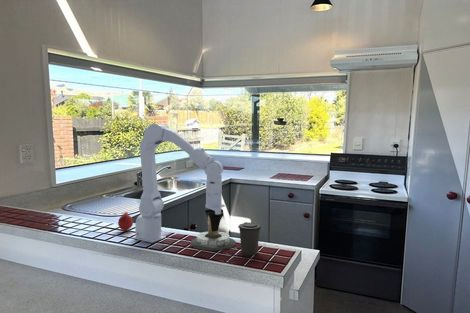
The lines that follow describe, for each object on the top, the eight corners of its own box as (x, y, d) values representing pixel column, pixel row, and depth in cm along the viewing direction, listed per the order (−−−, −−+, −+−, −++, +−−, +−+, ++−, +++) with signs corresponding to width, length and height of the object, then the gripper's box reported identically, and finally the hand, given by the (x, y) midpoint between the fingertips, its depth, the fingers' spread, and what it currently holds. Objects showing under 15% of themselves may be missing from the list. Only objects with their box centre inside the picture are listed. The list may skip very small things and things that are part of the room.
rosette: (180, 245, 121) (180, 237, 121) (206, 234, 136) (206, 227, 136) (220, 253, 113) (221, 245, 113) (243, 240, 128) (244, 233, 128)
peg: (205, 234, 123) (205, 216, 123) (211, 232, 127) (211, 214, 126) (215, 236, 121) (215, 217, 121) (220, 233, 125) (220, 215, 125)
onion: (128, 233, 134) (128, 214, 134) (115, 232, 135) (115, 213, 135) (135, 230, 140) (135, 211, 140) (122, 229, 141) (122, 210, 141)
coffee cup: (242, 247, 120) (242, 219, 120) (264, 250, 117) (264, 222, 117) (234, 254, 113) (234, 225, 112) (257, 257, 110) (257, 227, 109)
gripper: (229, 196, 118) (228, 234, 118) (219, 190, 131) (219, 224, 132) (209, 196, 116) (209, 235, 116) (202, 190, 129) (201, 225, 130)
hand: (213, 229), depth 124 cm, fingers closed on peg, 4 cm apart
